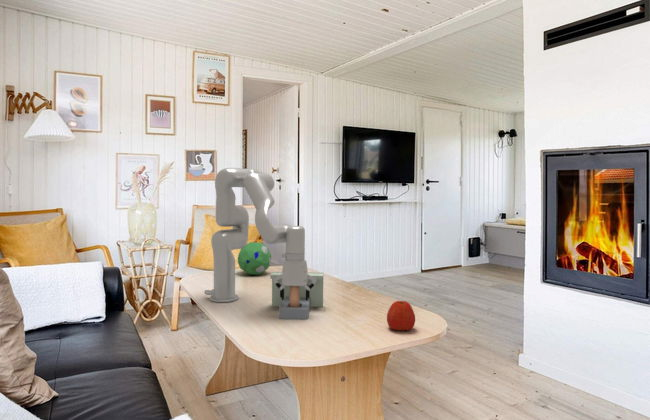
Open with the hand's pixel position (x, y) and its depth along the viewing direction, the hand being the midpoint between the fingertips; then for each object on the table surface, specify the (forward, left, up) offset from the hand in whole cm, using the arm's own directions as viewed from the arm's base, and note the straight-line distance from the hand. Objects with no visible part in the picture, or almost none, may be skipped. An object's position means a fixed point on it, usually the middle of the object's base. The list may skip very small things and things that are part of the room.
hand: (294, 299), depth 175 cm
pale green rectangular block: (0, +11, -6) cm, 12 cm away
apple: (+40, -15, -7) cm, 43 cm away
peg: (0, 0, -6) cm, 6 cm away
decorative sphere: (-31, +80, -6) cm, 86 cm away
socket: (0, +3, -6) cm, 7 cm away
